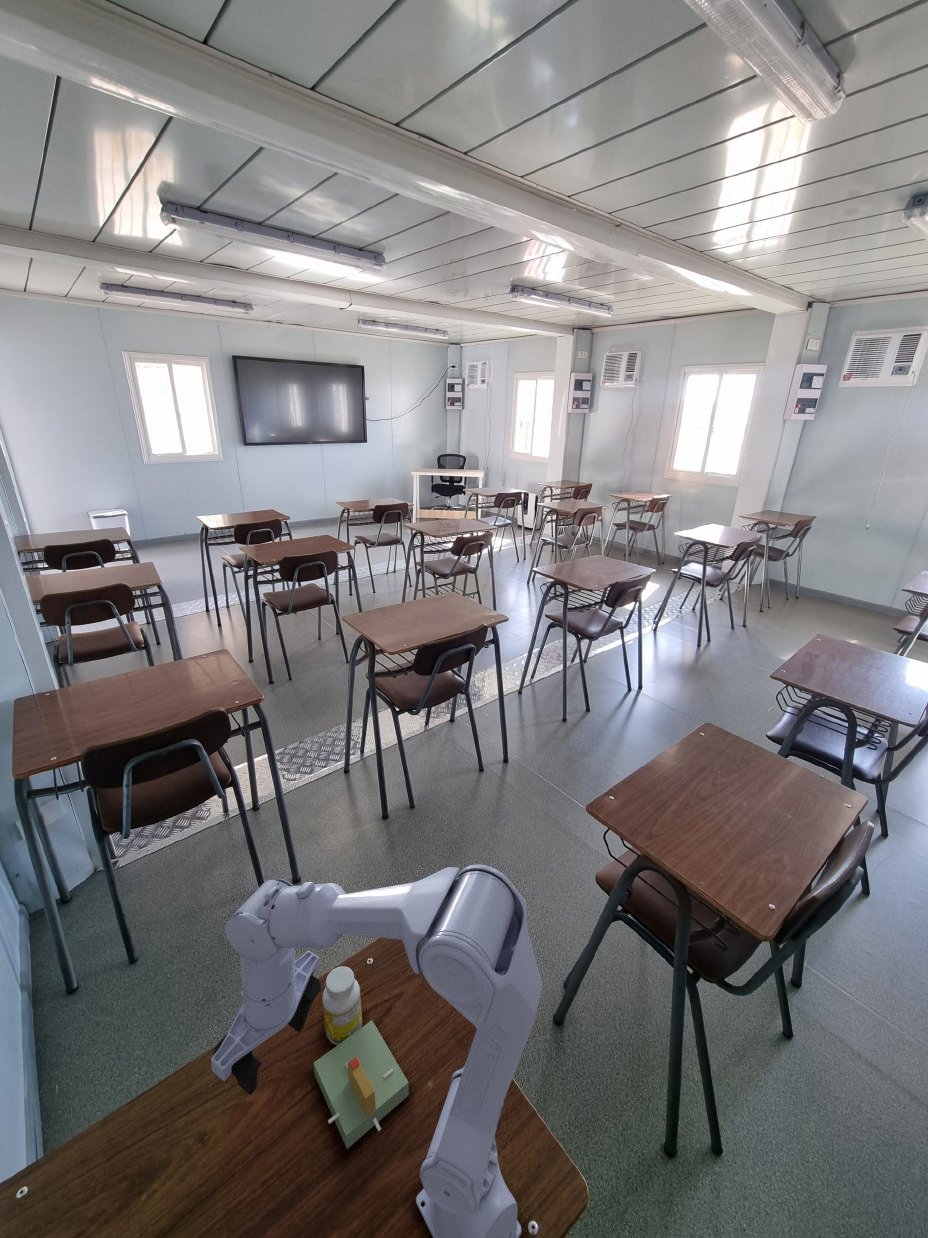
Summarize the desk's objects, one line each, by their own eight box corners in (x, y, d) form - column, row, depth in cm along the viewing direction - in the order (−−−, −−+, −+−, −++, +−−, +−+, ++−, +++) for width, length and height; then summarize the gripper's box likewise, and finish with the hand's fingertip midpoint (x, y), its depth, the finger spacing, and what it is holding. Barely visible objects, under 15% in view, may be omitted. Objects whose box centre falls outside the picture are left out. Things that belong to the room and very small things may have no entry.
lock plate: (417, 1110, 66) (417, 1096, 65) (346, 1175, 60) (345, 1160, 59) (372, 1032, 75) (371, 1019, 74) (306, 1081, 69) (305, 1068, 68)
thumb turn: (376, 1110, 63) (374, 1089, 62) (366, 1118, 63) (365, 1097, 62) (357, 1074, 67) (356, 1054, 66) (348, 1081, 66) (347, 1061, 65)
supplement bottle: (362, 1043, 73) (358, 994, 70) (324, 1050, 72) (319, 1001, 69) (362, 1006, 78) (359, 959, 75) (327, 1012, 77) (322, 965, 75)
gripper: (290, 914, 66) (292, 987, 70) (188, 1015, 53) (197, 1097, 58) (332, 940, 63) (331, 1015, 67) (234, 1054, 51) (241, 1137, 55)
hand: (272, 1055), depth 62 cm, fingers open, 7 cm apart
